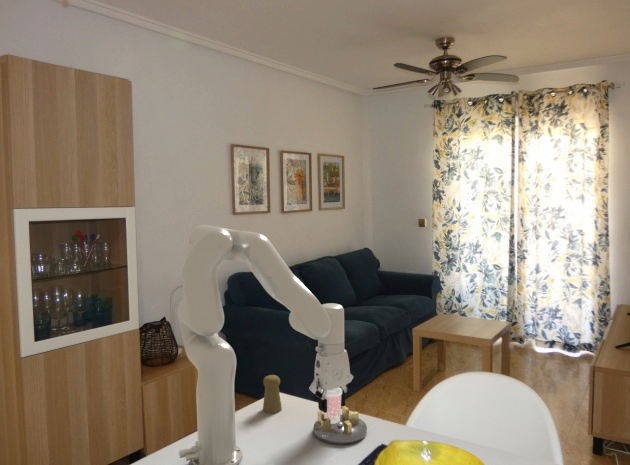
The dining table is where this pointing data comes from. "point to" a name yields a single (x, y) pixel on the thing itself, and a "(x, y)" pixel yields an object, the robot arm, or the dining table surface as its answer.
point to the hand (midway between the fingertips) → (332, 407)
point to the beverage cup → (333, 405)
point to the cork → (271, 395)
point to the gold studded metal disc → (340, 428)
